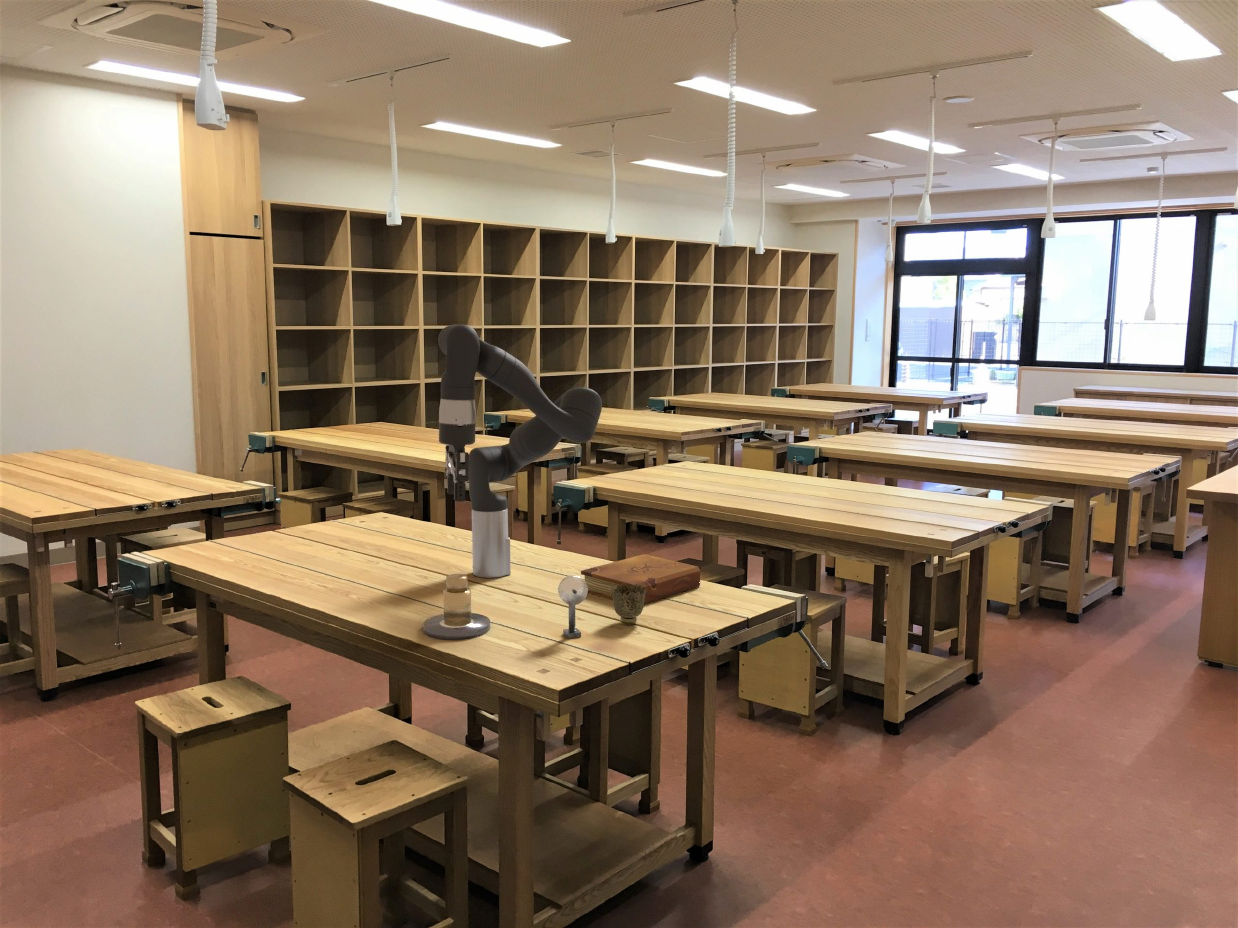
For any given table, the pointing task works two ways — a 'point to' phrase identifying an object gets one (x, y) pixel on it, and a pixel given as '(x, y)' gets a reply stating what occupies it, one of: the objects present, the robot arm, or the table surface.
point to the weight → (457, 601)
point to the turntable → (456, 628)
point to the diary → (643, 577)
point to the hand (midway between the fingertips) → (456, 497)
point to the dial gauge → (572, 600)
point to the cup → (628, 602)
